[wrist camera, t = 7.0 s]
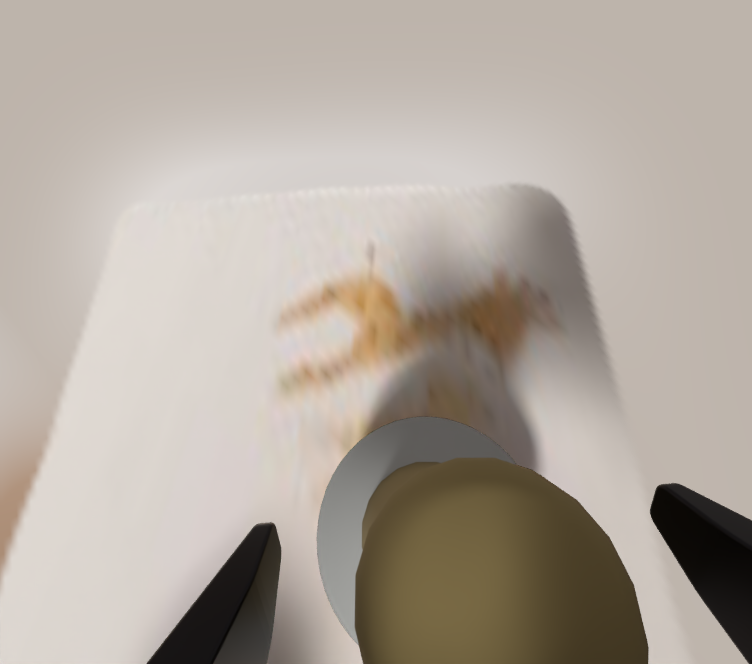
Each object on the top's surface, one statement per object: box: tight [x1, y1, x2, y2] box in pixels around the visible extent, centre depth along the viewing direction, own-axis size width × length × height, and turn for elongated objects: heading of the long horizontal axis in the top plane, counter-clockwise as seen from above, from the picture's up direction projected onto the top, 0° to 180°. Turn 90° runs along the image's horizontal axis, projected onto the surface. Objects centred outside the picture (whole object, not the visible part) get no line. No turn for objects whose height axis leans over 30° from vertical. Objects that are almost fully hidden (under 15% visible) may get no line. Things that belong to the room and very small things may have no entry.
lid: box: [317, 417, 517, 645], centre depth 16 cm, size 10×10×1 cm
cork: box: [354, 458, 648, 664], centre depth 10 cm, size 6×6×11 cm
